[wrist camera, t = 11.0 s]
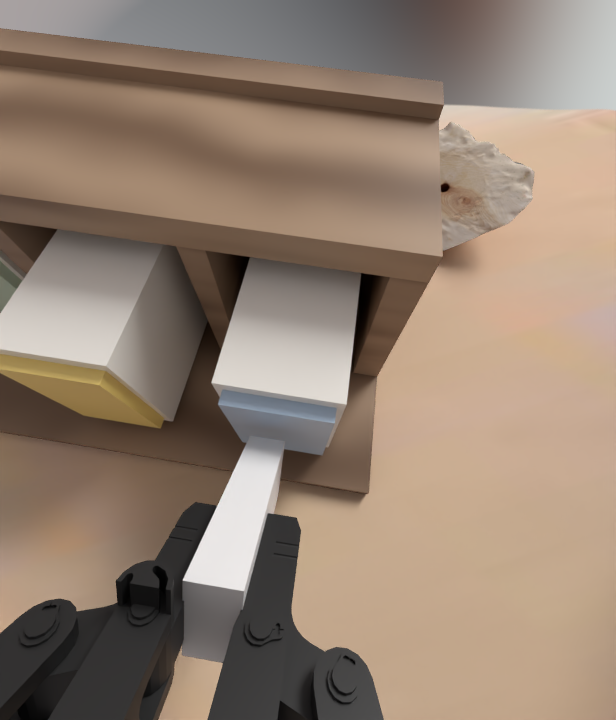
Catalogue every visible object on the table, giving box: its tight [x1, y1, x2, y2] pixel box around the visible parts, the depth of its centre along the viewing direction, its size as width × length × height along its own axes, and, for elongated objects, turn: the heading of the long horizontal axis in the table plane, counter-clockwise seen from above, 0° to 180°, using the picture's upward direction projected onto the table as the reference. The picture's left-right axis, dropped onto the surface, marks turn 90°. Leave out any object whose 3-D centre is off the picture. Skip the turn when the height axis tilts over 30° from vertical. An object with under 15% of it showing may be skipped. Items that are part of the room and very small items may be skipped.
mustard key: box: [0, 229, 208, 429], centre depth 17 cm, size 8×5×8 cm, turn 171°
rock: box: [439, 122, 534, 251], centre depth 28 cm, size 11×4×12 cm
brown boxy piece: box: [0, 28, 444, 494], centre depth 18 cm, size 18×28×12 cm, turn 81°
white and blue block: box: [211, 257, 361, 455], centre depth 17 cm, size 8×5×8 cm, turn 171°
